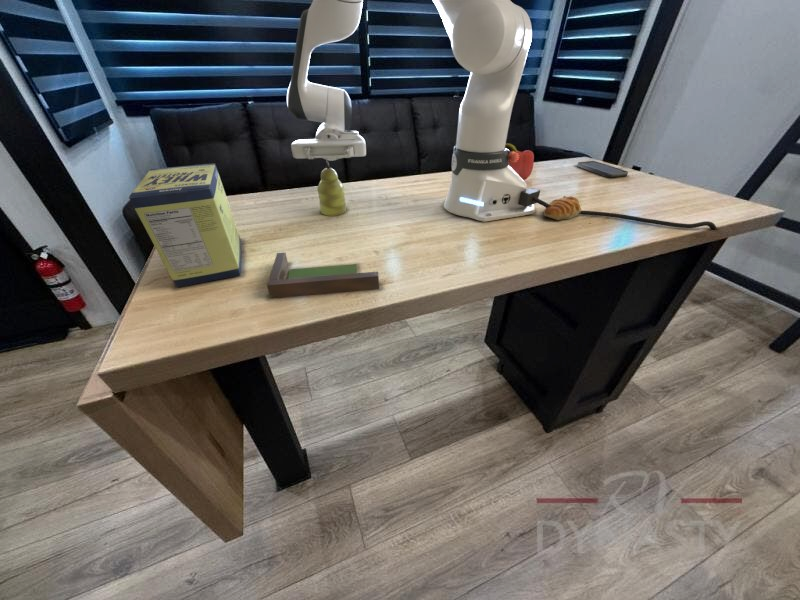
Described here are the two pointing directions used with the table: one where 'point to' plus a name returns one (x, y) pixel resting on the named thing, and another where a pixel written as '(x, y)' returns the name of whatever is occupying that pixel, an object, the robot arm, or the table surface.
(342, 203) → the pear
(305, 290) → the corner guard
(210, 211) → the protein box
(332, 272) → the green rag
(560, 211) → the pastry
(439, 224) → the table surface
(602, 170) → the phone
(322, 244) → the table surface
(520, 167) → the vegetable
